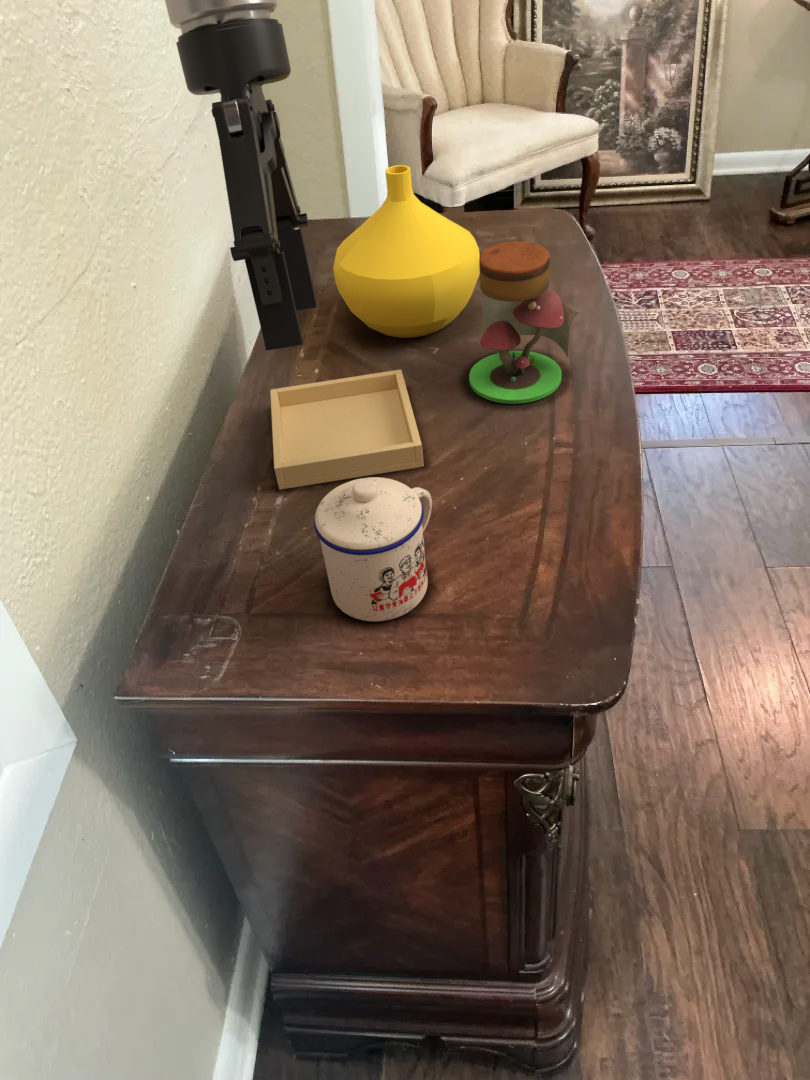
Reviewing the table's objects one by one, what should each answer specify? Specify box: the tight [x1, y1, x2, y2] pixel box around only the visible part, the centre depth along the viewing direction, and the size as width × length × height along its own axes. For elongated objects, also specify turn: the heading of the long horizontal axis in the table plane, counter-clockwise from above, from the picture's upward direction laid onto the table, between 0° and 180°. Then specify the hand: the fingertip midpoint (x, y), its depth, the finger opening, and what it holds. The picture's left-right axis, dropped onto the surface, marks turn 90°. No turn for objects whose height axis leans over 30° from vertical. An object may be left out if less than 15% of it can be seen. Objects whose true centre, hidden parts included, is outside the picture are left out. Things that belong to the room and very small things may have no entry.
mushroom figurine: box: [468, 240, 580, 405], centre depth 95 cm, size 12×13×15 cm
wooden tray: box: [269, 369, 425, 491], centre depth 94 cm, size 15×15×3 cm
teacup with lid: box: [313, 476, 433, 622], centre depth 74 cm, size 12×9×12 cm
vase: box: [332, 164, 481, 339], centre depth 106 cm, size 18×18×19 cm
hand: (294, 326), depth 70 cm, fingers open, 13 cm apart
